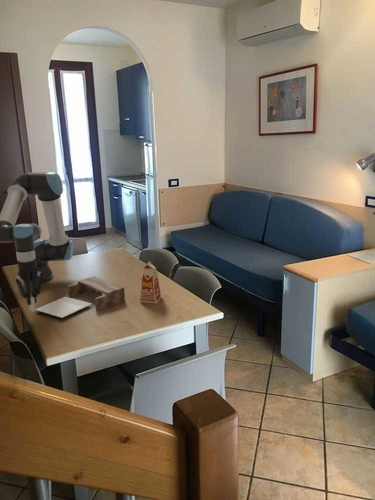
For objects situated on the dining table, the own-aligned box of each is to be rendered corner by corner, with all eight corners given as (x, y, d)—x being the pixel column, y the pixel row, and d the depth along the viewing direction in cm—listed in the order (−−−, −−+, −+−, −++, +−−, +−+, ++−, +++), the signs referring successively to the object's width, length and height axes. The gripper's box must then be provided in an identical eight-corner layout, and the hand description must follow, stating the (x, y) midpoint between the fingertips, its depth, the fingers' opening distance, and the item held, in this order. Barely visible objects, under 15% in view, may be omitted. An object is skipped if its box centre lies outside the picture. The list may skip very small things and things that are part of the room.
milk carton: (156, 303, 201) (155, 264, 195) (138, 302, 203) (136, 263, 197) (161, 296, 209) (160, 258, 204) (144, 295, 211) (142, 258, 206)
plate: (62, 321, 183) (62, 317, 182) (35, 313, 193) (34, 309, 192) (92, 307, 198) (92, 303, 198) (65, 300, 208) (65, 296, 207)
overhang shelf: (97, 310, 193) (96, 296, 191) (68, 296, 211) (67, 283, 209) (125, 301, 204) (124, 287, 202) (95, 288, 222) (94, 276, 220)
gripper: (15, 264, 171) (22, 317, 176) (44, 258, 180) (50, 308, 185) (7, 261, 176) (14, 312, 182) (36, 255, 185) (42, 304, 191)
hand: (32, 310), depth 184 cm, fingers closed
